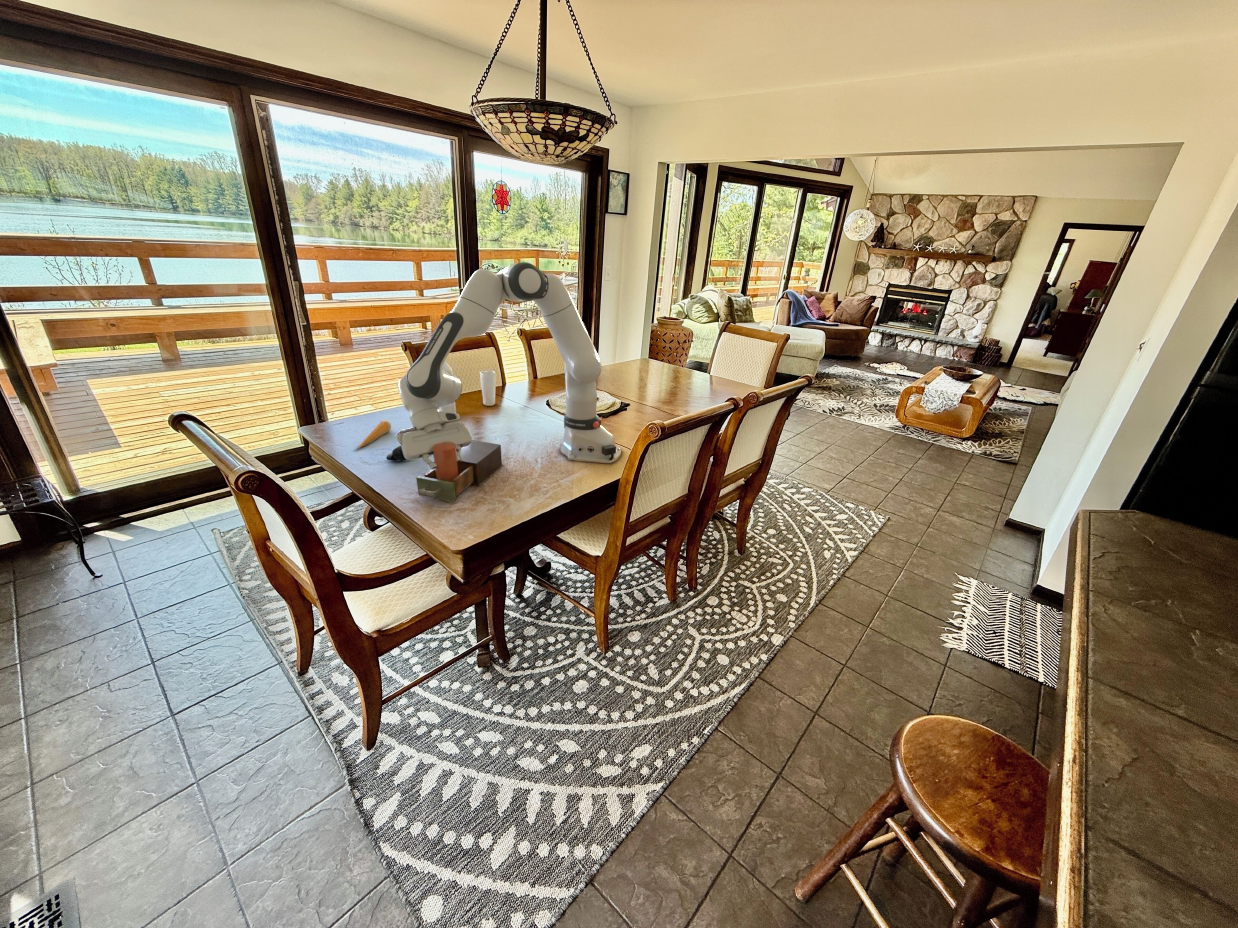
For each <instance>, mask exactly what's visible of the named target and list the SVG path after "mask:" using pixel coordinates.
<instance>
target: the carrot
mask: <svg viewBox="0 0 1238 928" xmlns="http://www.w3.org/2000/svg"><path fill="white" fill-rule="evenodd" d="M391 428H392V424H391V423H390V422H389V421H388V420H387V421H386V420H381V421H380V422H379V423H378V424H377V426H375V428H374V429H373V430H372V431H371V432H370V433H369V434H368V435H367V436H366V438H365V439H364V440H363V441H362V442H361V444H359V446H358V448H357V450H359V449H361V448H363V447H365V446H367V445H369V444H370V443H372V442H373V441H375V440H377V439H378V438H380V437H382V436H384V435H385V434H387V433H388V432H389V431H390V430H391Z"/></svg>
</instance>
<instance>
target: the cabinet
mask: <svg viewBox="0 0 1238 928" xmlns="http://www.w3.org/2000/svg"><path fill="white" fill-rule="evenodd" d="M460 455H461V458H462V461H461V462H457V463H463V464H468V465H474V468H475V481H474V482H473V483H471V484H470V485H471V486H477V487H479V486H480V485H482V483H483V482H485V481H486V480H487V479H488V478H489V477H490V476H492V475H493V474H494V473H495V472H496V471H497V470H498V469H500V468H501V467H502V466H503V463H502V462H503V461H502V460H503V459H502V444H499V443H493V442H487V441H481V440H475V439H472V441H471V443H470V444H469V445H468V446H465V447H461V454H460Z"/></svg>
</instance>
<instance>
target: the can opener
mask: <svg viewBox="0 0 1238 928" xmlns="http://www.w3.org/2000/svg"><path fill="white" fill-rule="evenodd" d="M385 458H386V460H387V461H391V462H396V461H398V462H406V461H408V460H407V459H405V457H404V455H403V451H402V448H401V445H399V446H396V447H395V448H394V449H393V450H392V451H391V453H389V454H388V455H387V456H386V457H385Z"/></svg>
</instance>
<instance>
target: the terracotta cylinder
mask: <svg viewBox="0 0 1238 928" xmlns="http://www.w3.org/2000/svg"><path fill="white" fill-rule="evenodd" d="M433 454H434V455H433V462H434V461H435V462H436V464H437V468H436V469H435V472H436V479H438V480H444V481H449V482H452V480H453V479H454V478H456V477H457V476H458V475H459V473H458V463H457V452H456V444H455V443H452V442H442V443H438V444H434V445H433Z"/></svg>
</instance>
